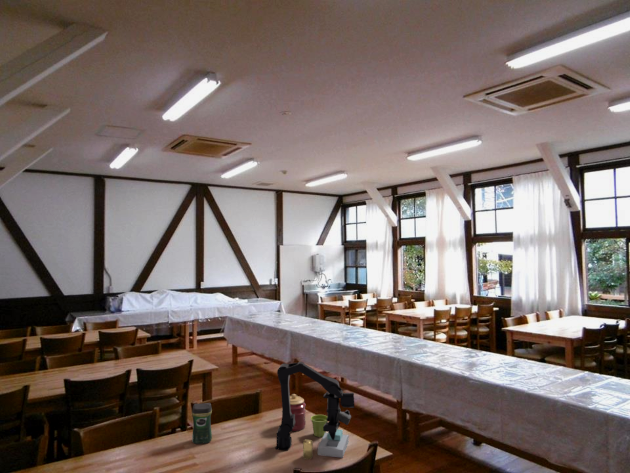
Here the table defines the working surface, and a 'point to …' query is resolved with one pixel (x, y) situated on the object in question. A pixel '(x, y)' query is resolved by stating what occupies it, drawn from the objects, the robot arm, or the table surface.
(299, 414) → the canister
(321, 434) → the plant pot
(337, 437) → the teal block
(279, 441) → the robot arm
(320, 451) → the jig
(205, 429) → the coffee jar
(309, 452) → the brass cylinder
